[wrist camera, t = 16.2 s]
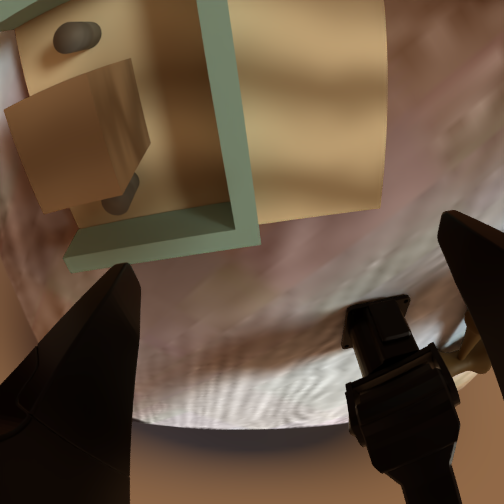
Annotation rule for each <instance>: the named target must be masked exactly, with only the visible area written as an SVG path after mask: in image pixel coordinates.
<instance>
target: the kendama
mask: <svg viewBox="0 0 504 504" xmlns="http://www.w3.org/2000/svg"><path fill="white" fill-rule="evenodd" d="M464 320H465V323H466V326H467V328H466V332H465V336H464V339H463V342H462V345H461V348H460V350H457V351H454V352H450V353H444V352H440V351H439V353H440V355H441V357H442V359H443V361H444V362H445V364H446V366H447V368H448V370H449V372H450V374H451V376H452V377H454V376H455V375H457V374H460V373H462V372H465V371H473V372H475V373H478V374H484V373H486V372H487V371H489V369H490V368H491V366H492V365H491V362H490V359H489V357H488V354H487V352H486V349H485V347H484V344H483V342H482V339H481V337H480V335H479V332H478V330H477V328H476V326H475V323H474V321H473V319H472V317H471V314H470V312H469V310H467V312H466V313H465V318H464Z"/></svg>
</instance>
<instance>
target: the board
mask: <svg viewBox="0 0 504 504" xmlns="http://www.w3.org/2000/svg"><path fill="white" fill-rule="evenodd" d="M227 2H228V9H229V15H230V22H231V29H232V36H233V43H234V49H235V56H236V63H237V70H238V77H239V84H240V92H241V99H242V106H243V113H244V120H245V127H246V135H247V142H248V149H249V157H250V164H251V172H252V179H253V187H254V194H255V202H256V209H257V217H258V224H265V223H272V222H279V221H286V220H294V219H301V218H308V217H315V216H323V215H330V214H338V213H346V212H354V211H361V210H369V209H378V208H380V205H381V196H382V186H383V174H384V162H385V147H386V128H387V40H386V22H385V8H384V0H227ZM15 35H16V40H17V45H18V50H19V55H20V59H21V64H22V68H23V72H24V76H25V80H26V84H27V88H28V92H29V96H32V95H34V94H36V93H38V92H40V91H42V90H45V89H47V88H49V87H51V86H54V85H56V84H58V83H61V82H63V81H66V80H68V79H70V78H73V77H76V76H78V75H81V74H84V73H86V72H89V71H92V70H95V69H97V68H100V67H103V66H106V65H109V64H113V63H116V62H119V61H122V60H125V59H129V58H131V60H132V65H133V70H134V74H135V79H136V83H137V88H138V92H139V97H140V101H141V105H142V109H143V113H144V118H145V122H146V126H147V130H148V134H149V138H150V141H151V144H150V146H149V147H148V149H147V151H146V153H145V154H144V156H143V158H142V160H141V161H140V163H139V165H138V167H137V169H136V171H135V172H134V174H133V176H132V178H131V180H130V182H129V184H128V185H127V187H126V189H125V191H124V193H123V195H121V196H116V197H112V198H107V199H103V200H99V201H95V202H90V203H86V204H82V205H78V206H74V207H70V210H71V212H72V214H73V217H74V219H75V221H76V223H77V226H78V228H79V229H83V228H88V227H93V226H97V225H102V224H107V223H112V222H117V221H122V220H127V219H132V218H137V217H143V216H148V215H153V214H159V213H164V212H170V211H175V210H181V209H187V208H193V207H199V206H205V205H211V204H217V203H224V202H230V196H229V190H228V185H227V179H226V173H225V168H224V162H223V156H222V151H221V145H220V139H219V134H218V128H217V122H216V116H215V110H214V105H213V99H212V93H211V87H210V81H209V75H208V69H207V63H206V57H205V51H204V45H203V39H202V33H201V26H200V20H199V14H198V8H197V1H196V0H70V1H67V2H65V3H63V4H61V5H59V6H57V7H55V8H53V9H50V10H48V11H46V12H44V13H43V14H41V15H39V16H37V17H35V18H33V19H31V20H29V21H28V22H26V23H24V24H22V25H20V26H19V27H17V28H15Z"/></svg>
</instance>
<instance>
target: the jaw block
mask: <svg viewBox="0 0 504 504" xmlns="http://www.w3.org/2000/svg"><path fill="white" fill-rule="evenodd" d="M4 113H5V116H6V119H7V122H8V125H9V128H10V131H11V134H12V137H13V140H14V143H15V146H16V149H17V151H18V154H19V157H20V159H21V162H22V165H23V167H24V170H25V172H26V175H27V177H28V180H29V182H30V184H31V187H32V189H33V191H34V194H35V196H36V198H37V201H38V203H39V205H40V207H41V209H42V211H43V214H47V213H51V212H55V211H59V210H62V209H66V208H70V207H74V206H78V205H82V204H86V203H90V202H95V201H99V200H103V199H107V198H112V197H116V196H121V195H123V193H124V191H125V189H126V187H127V185H128V184H129V182H130V180H131V178H132V176H133V174H134V172H135V171H136V169H137V167H138V165H139V163H140V161H141V160H142V158H143V156H144V154H145V153H146V151H147V149H148V147H149V146H150V144H151V141H150V138H149V134H148V130H147V126H146V122H145V118H144V113H143V109H142V105H141V101H140V97H139V92H138V88H137V83H136V79H135V74H134V70H133V65H132V60H131V58H129V59H125V60H122V61H119V62H116V63H113V64H109V65H106V66H103V67H100V68H97V69H95V70H92V71H89V72H86V73H84V74H81V75H78V76H76V77H73V78H70V79H68V80H66V81H63V82H61V83H58V84H56V85H54V86H51V87H49V88H47V89H45V90H42V91H40V92H38V93H36V94H34V95H32V96H30V97H28V98H26V99H23V100H21V101H20V102H18V103H16V104H14V105H12V106H10V107H8V108H6V109H4Z"/></svg>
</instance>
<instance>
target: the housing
mask: <svg viewBox="0 0 504 504" xmlns="http://www.w3.org/2000/svg"><path fill="white" fill-rule="evenodd" d="M67 1H70V0H1V1H0V32H1V31H7V30H14V29H15V28H17V27H19V26H20V25H22V24H24V23H26V22H28V21H29V20H31V19H33V18H35V17H37V16H39V15H41V14H43V13H44V12H46V11H48V10H50V9H53V8H55V7H57V6H59V5H61V4H63V3H65V2H67ZM196 1H197V8H198V14H199V20H200V26H201V33H202V39H203V45H204V51H205V57H206V63H207V69H208V75H209V81H210V87H211V93H212V99H213V105H214V110H215V116H216V122H217V128H218V134H219V139H220V145H221V151H222V156H223V162H224V168H225V173H226V179H227V185H228V190H229V196H230V202H224V203H217V204H211V205H205V206H199V207H193V208H187V209H181V210H175V211H170V212H164V213H159V214H153V215H148V216H143V217H137V218H132V219H127V220H122V221H117V222H112V223H107V224H102V225H97V226H93V227H88V228H83V229H79V230H78V231H77V233H76V235H75V236H74V238H73V240H72V242H71V244H70V246H69V247H68V249H67V251H66V253H65V255H64V257H63V260H64V262H65V263H66V265H67V267H68V269H69V271H70V272H71V273H77V272H83V271H89V270H96V269H102V268H109V267H112V266H113V265H115V264H119V263H124V262H127V263H129V264H135V263H142V262H148V261H155V260H161V259H168V258H175V257H181V256H188V255H194V254H201V253H208V252H215V251H221V250H228V249H235V248H241V247H248V246H255V245H261V240H260V232H259V224H258V217H257V209H256V202H255V194H254V187H253V179H252V172H251V164H250V157H249V149H248V142H247V135H246V127H245V120H244V113H243V106H242V99H241V92H240V84H239V77H238V70H237V63H236V56H235V49H234V43H233V36H232V29H231V22H230V15H229V9H228V2H227V0H196Z"/></svg>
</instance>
